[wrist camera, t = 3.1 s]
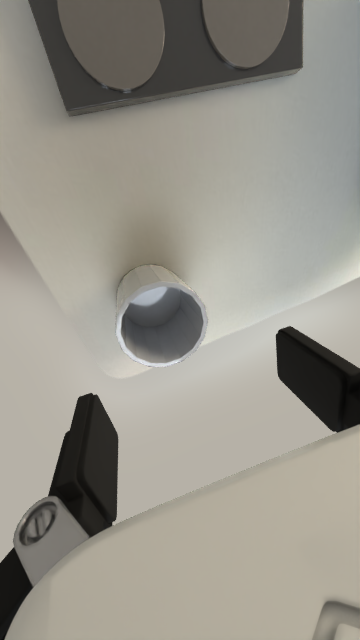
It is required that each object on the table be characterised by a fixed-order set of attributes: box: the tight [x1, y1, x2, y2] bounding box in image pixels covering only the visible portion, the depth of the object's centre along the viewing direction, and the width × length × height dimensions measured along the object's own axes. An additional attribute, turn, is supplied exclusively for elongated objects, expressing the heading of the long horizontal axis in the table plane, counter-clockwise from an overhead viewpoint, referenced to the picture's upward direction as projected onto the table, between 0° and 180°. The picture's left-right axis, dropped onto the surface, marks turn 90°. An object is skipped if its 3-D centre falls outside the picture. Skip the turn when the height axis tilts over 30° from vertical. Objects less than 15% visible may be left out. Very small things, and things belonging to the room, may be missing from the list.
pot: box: [115, 264, 208, 367], centre depth 21 cm, size 7×7×8 cm
